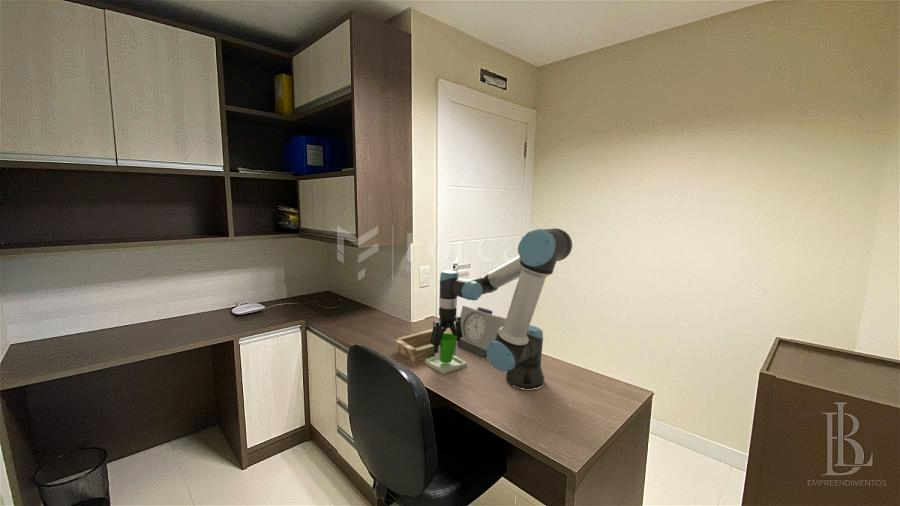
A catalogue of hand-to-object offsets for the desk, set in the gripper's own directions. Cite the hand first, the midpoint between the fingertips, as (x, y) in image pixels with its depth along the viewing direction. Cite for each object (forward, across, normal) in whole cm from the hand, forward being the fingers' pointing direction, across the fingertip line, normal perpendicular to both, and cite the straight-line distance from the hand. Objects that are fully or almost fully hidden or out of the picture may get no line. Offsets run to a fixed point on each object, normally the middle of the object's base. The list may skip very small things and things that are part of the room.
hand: (446, 356), depth 159 cm
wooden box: (+4, -1, -17) cm, 18 cm away
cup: (+2, 0, 0) cm, 2 cm away
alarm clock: (+4, -25, -5) cm, 26 cm away
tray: (+4, 0, 0) cm, 4 cm away
